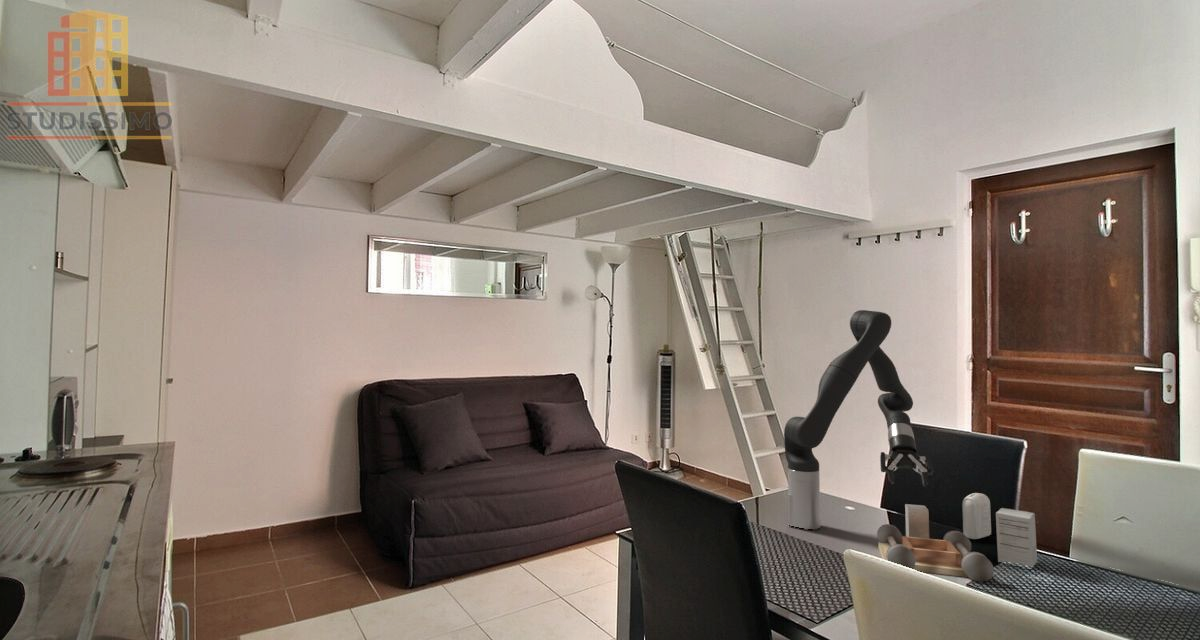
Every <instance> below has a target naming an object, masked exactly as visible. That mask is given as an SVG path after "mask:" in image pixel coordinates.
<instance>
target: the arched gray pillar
mask: <svg viewBox="0 0 1200 640" xmlns="http://www.w3.org/2000/svg"><path fill="white" fill-rule="evenodd" d="M991 521H992V519H991V501H990V498H989V497H988V496H987V495H986V494H984V493H979V492H974V493H973V492H972V493H970V494H968V495H967V496H965V497H964V498H963V500H962V530H963V532H962V533H963V534H964V535H965V536H966V537H967V538H968V539H969V540H970V539H971V540H979V539H982V538H986V537H989V536H990V535H992V522H991Z"/></svg>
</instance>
